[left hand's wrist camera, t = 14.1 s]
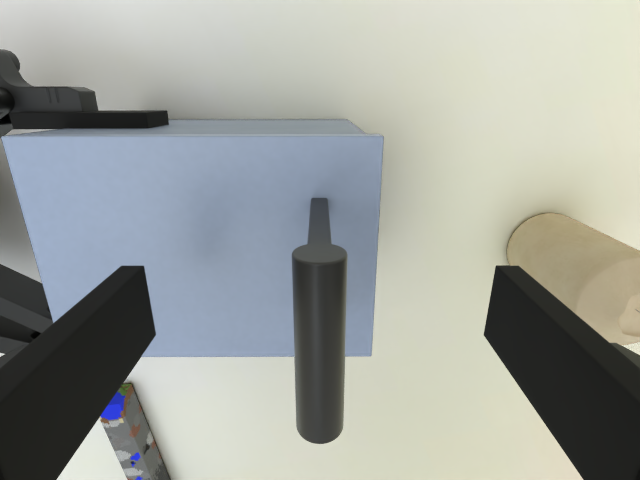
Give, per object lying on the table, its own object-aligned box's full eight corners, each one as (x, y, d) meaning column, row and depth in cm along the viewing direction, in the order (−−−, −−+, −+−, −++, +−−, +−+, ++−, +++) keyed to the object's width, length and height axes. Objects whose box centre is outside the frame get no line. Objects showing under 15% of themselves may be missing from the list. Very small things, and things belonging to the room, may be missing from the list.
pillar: (164, 559, 38) (92, 403, 31) (172, 536, 40) (106, 385, 33) (185, 557, 38) (118, 400, 31) (192, 534, 40) (130, 381, 33)
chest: (348, 119, 26) (367, 133, 16) (344, 258, 30) (358, 344, 19) (137, 119, 26) (18, 134, 16) (159, 258, 30) (74, 345, 19)
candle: (498, 277, 30) (580, 360, 20) (515, 209, 28) (613, 266, 19) (568, 281, 30) (680, 365, 21) (589, 214, 28) (724, 272, 19)
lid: (380, 133, 16) (435, 166, 8) (369, 345, 19) (400, 500, 12) (17, 134, 16) (-254, 166, 8) (73, 346, 19) (-80, 501, 12)
